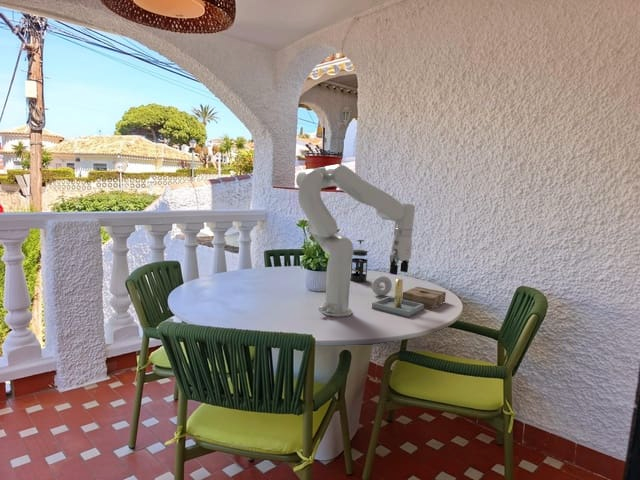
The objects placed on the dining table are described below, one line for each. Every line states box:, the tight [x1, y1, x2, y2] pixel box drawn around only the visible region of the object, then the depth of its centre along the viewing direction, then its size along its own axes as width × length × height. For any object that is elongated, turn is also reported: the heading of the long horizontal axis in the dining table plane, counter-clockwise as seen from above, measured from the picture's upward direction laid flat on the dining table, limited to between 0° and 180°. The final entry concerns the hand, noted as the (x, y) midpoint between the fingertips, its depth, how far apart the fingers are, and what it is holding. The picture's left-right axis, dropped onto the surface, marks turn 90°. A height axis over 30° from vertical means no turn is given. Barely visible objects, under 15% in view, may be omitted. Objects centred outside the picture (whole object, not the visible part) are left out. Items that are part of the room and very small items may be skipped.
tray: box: [371, 296, 425, 319], centre depth 166 cm, size 15×17×2 cm
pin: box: [394, 278, 404, 308], centre depth 165 cm, size 3×3×12 cm
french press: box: [350, 239, 369, 283], centre depth 215 cm, size 12×9×23 cm
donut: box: [371, 275, 393, 297], centre depth 186 cm, size 10×4×10 cm, turn 99°
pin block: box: [402, 286, 447, 310], centre depth 177 cm, size 16×14×5 cm
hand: (398, 272), depth 164 cm, fingers open, 9 cm apart
